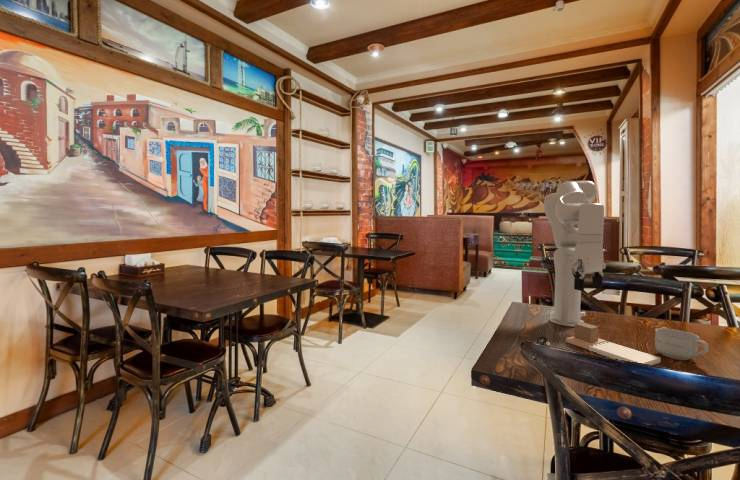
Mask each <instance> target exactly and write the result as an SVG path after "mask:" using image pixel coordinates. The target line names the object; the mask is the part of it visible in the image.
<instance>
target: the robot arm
mask: <svg viewBox="0 0 740 480" xmlns="http://www.w3.org/2000/svg"><path fill="white" fill-rule="evenodd" d="M596 196H597V187H596V184H595V182H593V181H590V180H566V181H564V182H561V183H560V184H558V186H557V187H556V192H553V193H549V194H547V195H546V196H545V197H544V200H543V210H544V214H545V216H546V218H547V220H548V222H549V224H550V227H551V230H552V236H553V241H554V245H555V246H556V250H554V253H553V264H554V304H553V305H554V306H553V308H554V309H553V313H554V314H553V316H550V317H549V321H550V322H551V323H553V324H556V325H559V326H564V327H573V328H575V324H576V323H581V322H583V323H585V321H584V320H583V319H582V317H586V316H587V313H586V311H581V299H582V298H581V295H582V292H583V291H584V290H585V278H584V277H585V275H586V274H593V275H592V281H591V283H592V284H591V286H592V288H596V289H603V281H604V280H603V277H604V275H605V274H604V273H605V271H606V268H607V263H606V262H605V261H604V260H605V259H604V247H603V244H604V228H605V227H604V226H605V223H604V222H605V205H604V204H602V203H598V202H595V203H594V200H595V198H596ZM574 225H577V227H574Z"/></svg>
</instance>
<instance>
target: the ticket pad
mask: <svg viewBox="0 0 740 480" xmlns="http://www.w3.org/2000/svg"><path fill="white" fill-rule="evenodd" d="M588 351H590V352H592V351H593V353H595V352H596V354H598V355H601V356H605V357H607V358H610V359H613V360H615V359H618V360H625V361H630V362H637V363H642V364H649V365H651V366H653V365H654V366H655V365H656V364H657V365H658V364H660V363H661V361H662V360H661V359H662V357H661V356H657V355H654V354H650V353H646V352H643V351H640V350H637V349H634V348H630V347H627V346H625V345H624V346H623V345H620V344H617V343H614V342H611V341H607V340H606V342H602V343H598V344H594V345H590V346H589V349H588ZM618 360H617V361H618Z"/></svg>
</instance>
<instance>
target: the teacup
mask: <svg viewBox="0 0 740 480" xmlns="http://www.w3.org/2000/svg"><path fill="white" fill-rule="evenodd" d="M654 330H655V333H654V335H655V336H654V346H655V348H656V350H657V351H658V352H659V354H661V355H662V356H664V357H667V358H670V359H674V360H679V361H688V360H690V359H693V358H697V357H698V356H703V355H705V354H707V353H708V352H709V351H710V350H709V349H710V348H709V347H710V346H709V344H708V343H707V342H706V341H704V340H703V339H702V340H701V339H700V336H699V335H697V334H696V333H695V334H694V333H692V332H689V331H683V330H680V329H673V328H662V327H661V328H655V329H654ZM699 344H701V345H702V348H703V349H702V350H701V351H699Z"/></svg>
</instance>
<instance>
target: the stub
mask: <svg viewBox="0 0 740 480" xmlns="http://www.w3.org/2000/svg"><path fill="white" fill-rule="evenodd" d="M599 331H600V329H599V326H597V325H593V324H589V323H586V322H584V323H583V322H581V323H576V324H575V327H574V331H573V334H574V335H573V336H569V337H566V338H565V342H566V343H567V344H571V345H573V346H574V345H575V346H577V347H580V348H583V349H585V350H589V346H590V345H594V344H598V343H602V342H606V341H607V340H605V339H602V338H599Z"/></svg>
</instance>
